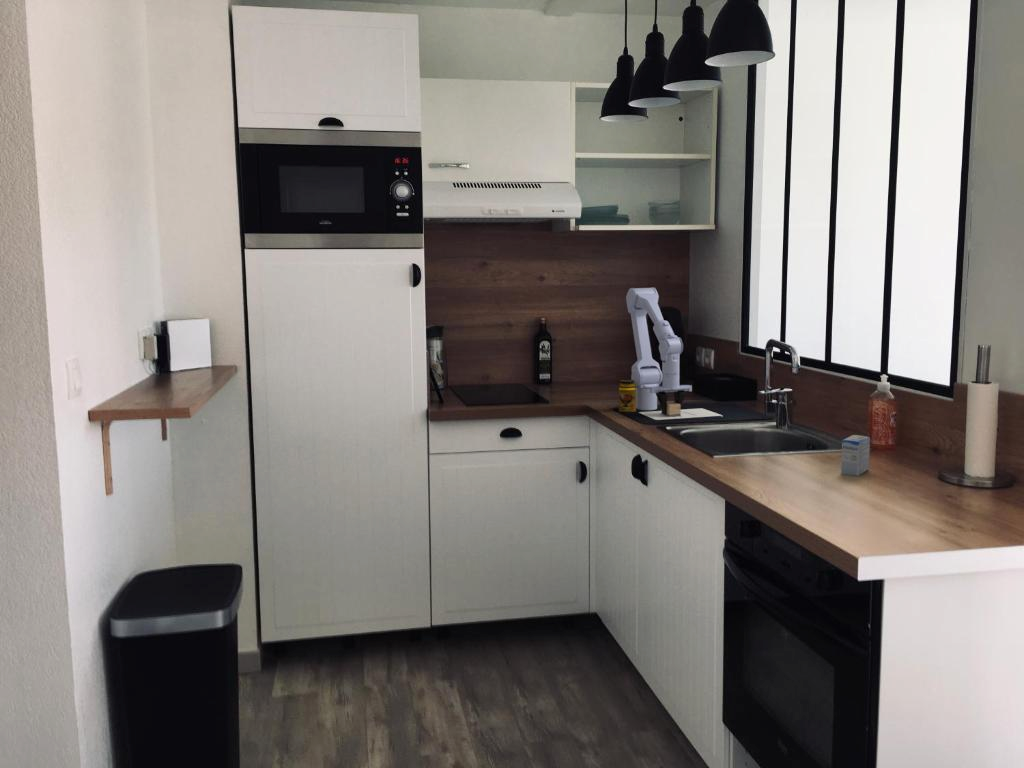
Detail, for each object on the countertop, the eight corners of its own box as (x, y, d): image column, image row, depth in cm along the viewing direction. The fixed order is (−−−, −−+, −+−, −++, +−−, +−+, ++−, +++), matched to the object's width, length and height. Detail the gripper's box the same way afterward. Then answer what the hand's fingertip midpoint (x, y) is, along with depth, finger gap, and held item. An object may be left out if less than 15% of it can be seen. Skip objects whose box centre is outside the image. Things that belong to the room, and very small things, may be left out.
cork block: (661, 413, 307) (661, 402, 307) (672, 412, 308) (672, 401, 308) (669, 416, 300) (669, 405, 300) (680, 416, 301) (680, 404, 301)
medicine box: (851, 468, 228) (852, 434, 226) (869, 470, 225) (870, 436, 224) (840, 474, 222) (841, 439, 220) (858, 476, 219) (859, 441, 218)
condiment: (622, 416, 312) (622, 382, 310) (612, 412, 320) (612, 379, 318) (641, 414, 314) (641, 380, 312) (631, 411, 322) (631, 378, 320)
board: (638, 415, 311) (638, 412, 311) (702, 411, 317) (702, 408, 317) (656, 423, 296) (656, 419, 296) (722, 418, 301) (722, 415, 301)
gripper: (655, 376, 297) (655, 416, 299) (695, 373, 300) (695, 413, 302) (647, 373, 304) (647, 413, 306) (687, 371, 307) (686, 410, 309)
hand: (670, 413), depth 304 cm, fingers closed on cork block, 4 cm apart
